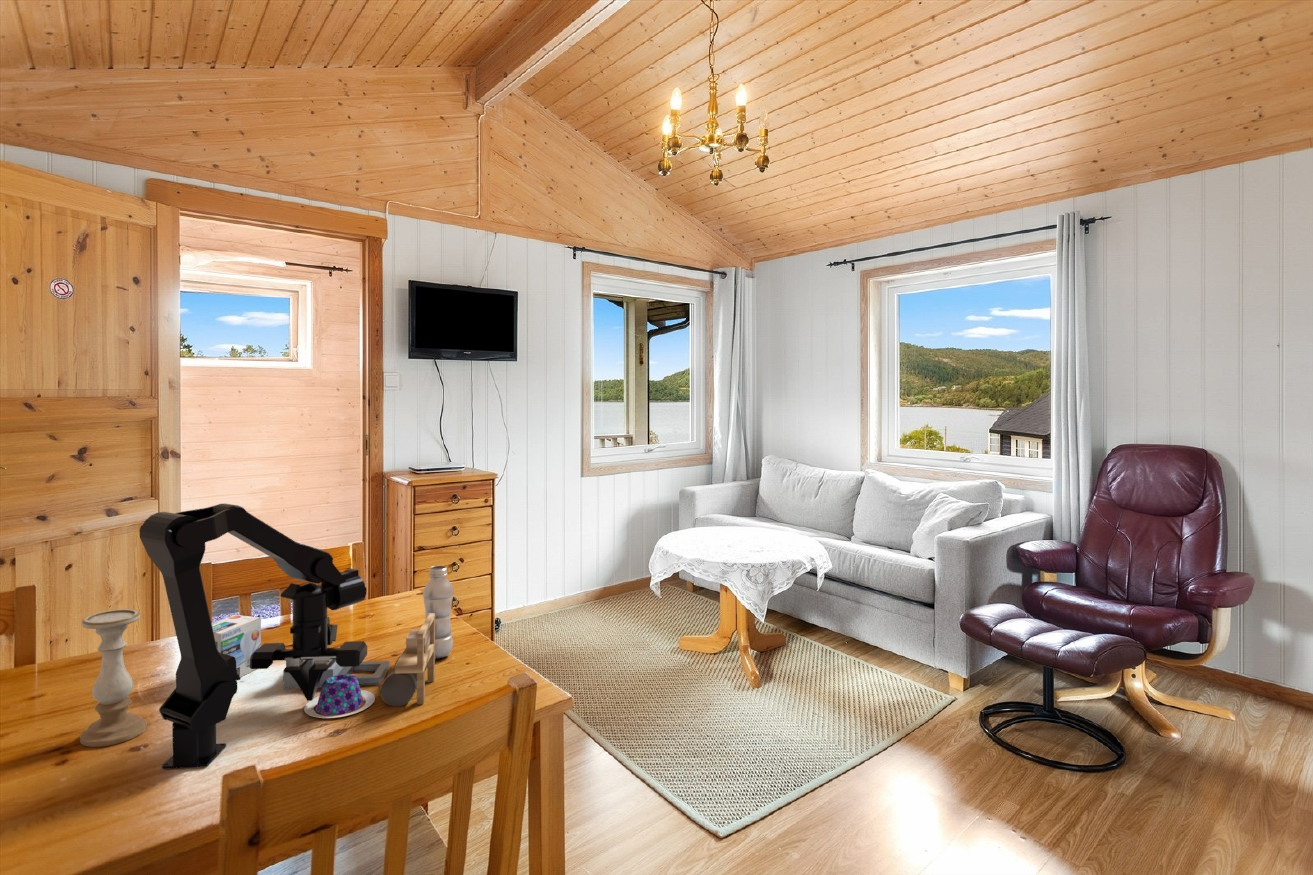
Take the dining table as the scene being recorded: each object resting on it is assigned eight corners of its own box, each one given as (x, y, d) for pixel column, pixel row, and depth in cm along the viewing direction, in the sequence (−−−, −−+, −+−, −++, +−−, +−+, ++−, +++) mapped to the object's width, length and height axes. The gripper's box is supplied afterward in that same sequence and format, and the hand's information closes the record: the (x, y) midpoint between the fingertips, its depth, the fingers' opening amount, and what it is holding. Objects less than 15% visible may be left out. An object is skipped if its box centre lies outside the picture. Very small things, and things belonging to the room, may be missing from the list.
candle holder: (138, 717, 120) (136, 604, 119) (153, 733, 115) (151, 615, 114) (74, 735, 114) (71, 615, 112) (87, 753, 108) (83, 628, 107)
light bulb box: (221, 687, 133) (220, 633, 132) (192, 684, 134) (191, 630, 134) (262, 666, 144) (262, 616, 143) (235, 663, 145) (234, 613, 144)
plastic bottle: (415, 658, 150) (415, 568, 149) (438, 648, 156) (439, 562, 155) (436, 664, 147) (437, 573, 146) (459, 654, 153) (460, 566, 152)
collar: (379, 684, 136) (379, 677, 136) (334, 686, 135) (334, 678, 135) (390, 667, 144) (390, 660, 144) (347, 669, 143) (347, 662, 143)
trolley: (422, 705, 128) (423, 633, 127) (380, 707, 127) (380, 634, 126) (435, 678, 140) (435, 612, 139) (396, 679, 139) (396, 613, 138)
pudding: (325, 691, 133) (325, 665, 133) (385, 694, 133) (386, 668, 132) (290, 720, 121) (289, 691, 121) (356, 723, 121) (356, 694, 120)
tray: (333, 687, 135) (332, 669, 134) (283, 688, 133) (283, 670, 133) (347, 668, 144) (347, 651, 143) (301, 669, 142) (301, 652, 142)
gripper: (375, 602, 134) (375, 680, 135) (274, 604, 132) (274, 683, 133) (358, 621, 123) (358, 705, 124) (247, 623, 121) (248, 709, 122)
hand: (310, 699), depth 126 cm, fingers closed
